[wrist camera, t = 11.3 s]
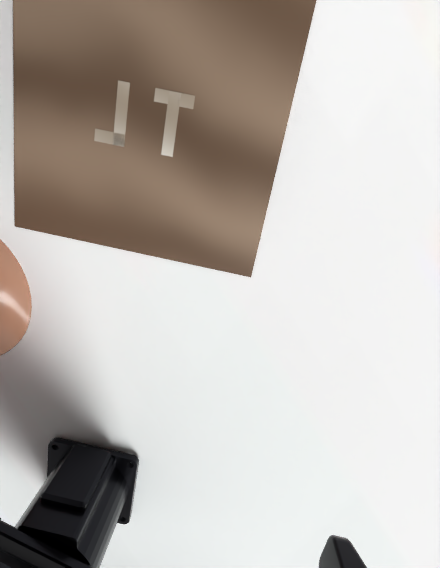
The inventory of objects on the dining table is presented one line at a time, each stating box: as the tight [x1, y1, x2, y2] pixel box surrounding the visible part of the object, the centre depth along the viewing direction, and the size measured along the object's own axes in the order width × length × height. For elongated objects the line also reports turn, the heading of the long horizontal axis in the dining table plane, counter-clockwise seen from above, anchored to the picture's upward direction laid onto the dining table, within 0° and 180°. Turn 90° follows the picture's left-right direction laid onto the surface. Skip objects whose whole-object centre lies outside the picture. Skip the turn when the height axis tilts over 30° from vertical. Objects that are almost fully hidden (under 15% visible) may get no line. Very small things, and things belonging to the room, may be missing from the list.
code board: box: [13, 0, 316, 277], centre depth 18 cm, size 14×14×1 cm
